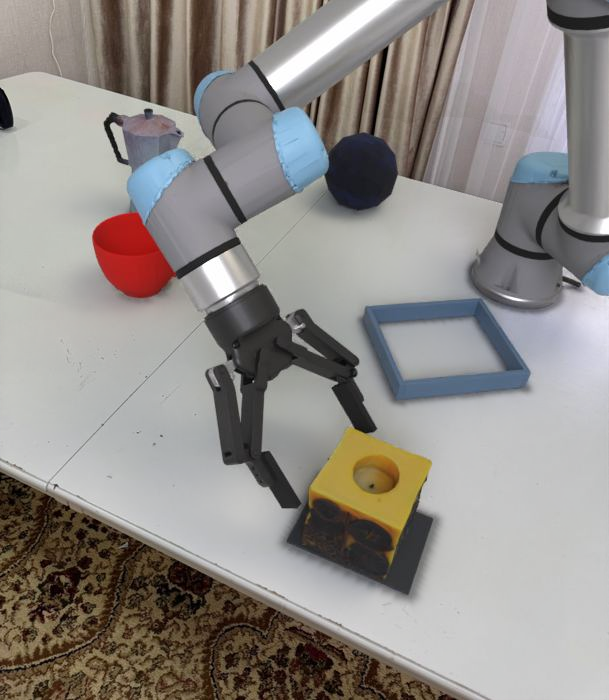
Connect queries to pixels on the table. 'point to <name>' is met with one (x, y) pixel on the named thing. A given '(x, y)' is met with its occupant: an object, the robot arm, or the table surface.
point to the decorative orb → (361, 171)
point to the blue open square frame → (448, 384)
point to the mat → (404, 561)
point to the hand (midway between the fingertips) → (332, 467)
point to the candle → (364, 503)
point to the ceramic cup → (130, 256)
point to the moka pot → (143, 138)
